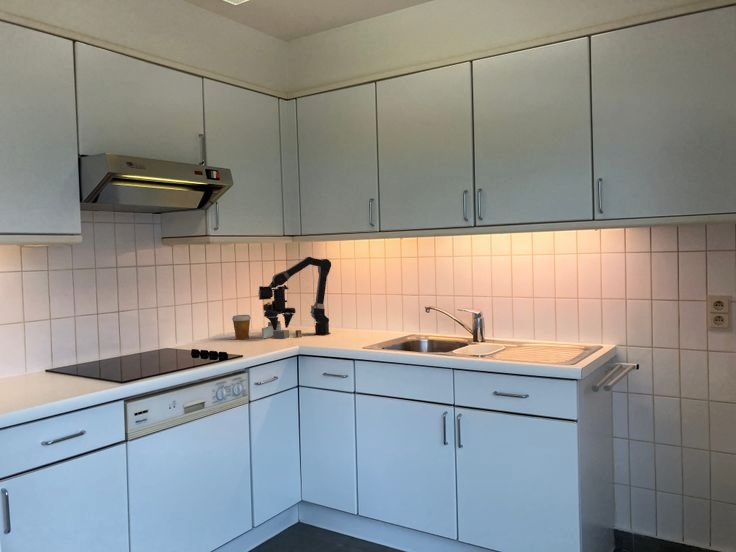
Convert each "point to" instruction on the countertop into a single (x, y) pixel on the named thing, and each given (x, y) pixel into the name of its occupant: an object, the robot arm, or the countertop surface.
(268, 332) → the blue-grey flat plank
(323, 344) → the countertop surface
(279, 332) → the grey rectangular block
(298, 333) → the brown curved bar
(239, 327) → the disposable coffee cup
